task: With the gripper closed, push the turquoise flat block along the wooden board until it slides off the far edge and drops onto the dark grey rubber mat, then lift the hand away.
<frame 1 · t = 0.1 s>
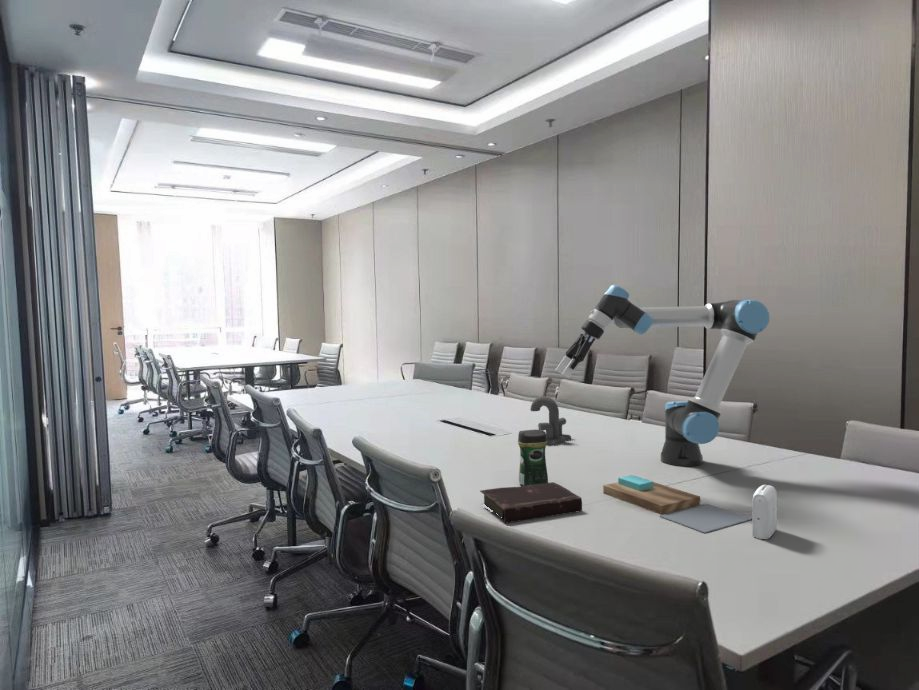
hand: (561, 374, 213), 36 cm above the table, tool tilted 35°, fingers open, 13 cm apart
coffee jar: (533, 484, 203), on the table
diary: (529, 510, 179), on the table
turquoise flat block: (635, 485, 190), point 2 cm above the table, touching wooden board
photo printer: (764, 534, 155), on the table
wooden board: (650, 498, 185), on the table
faucet: (546, 440, 271), on the table
mat: (706, 518, 167), on the table
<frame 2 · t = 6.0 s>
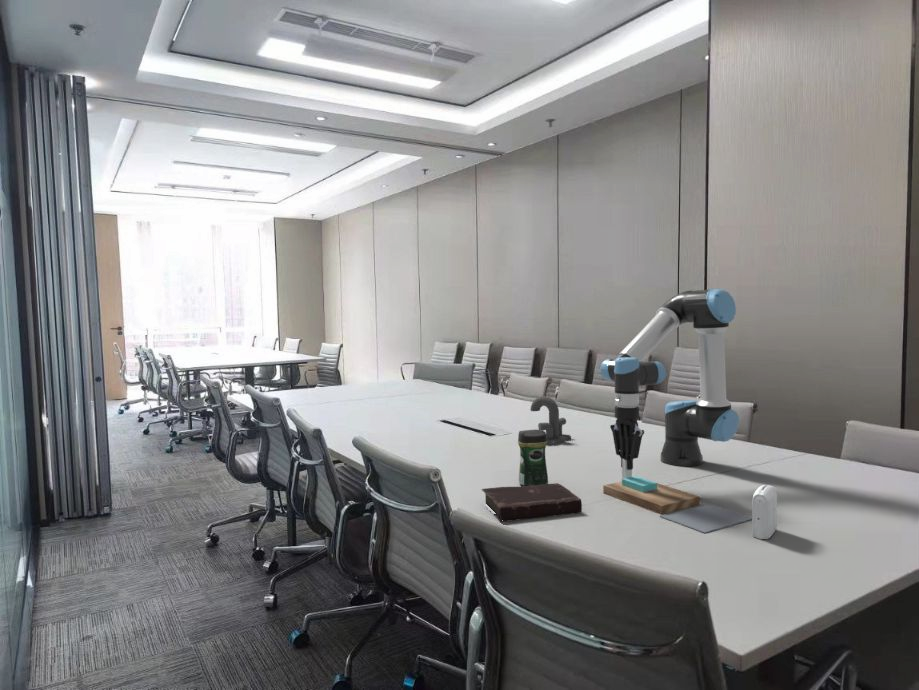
hand: (627, 478, 193), 4 cm above the table, tool pointing down, fingers closed
turquoise flat block: (639, 487, 189), point 3 cm above the table, touching wooden board
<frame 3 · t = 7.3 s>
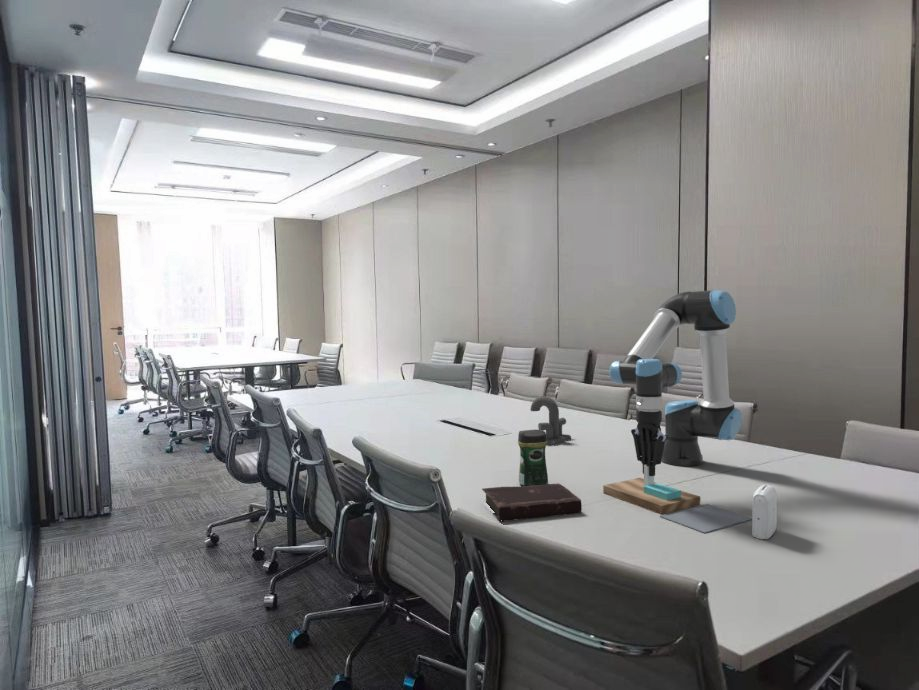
hand: (648, 485, 185), 4 cm above the table, tool pointing down, fingers closed
turquoise flat block: (662, 494, 181), point 3 cm above the table, touching gripper
everything else where it was.
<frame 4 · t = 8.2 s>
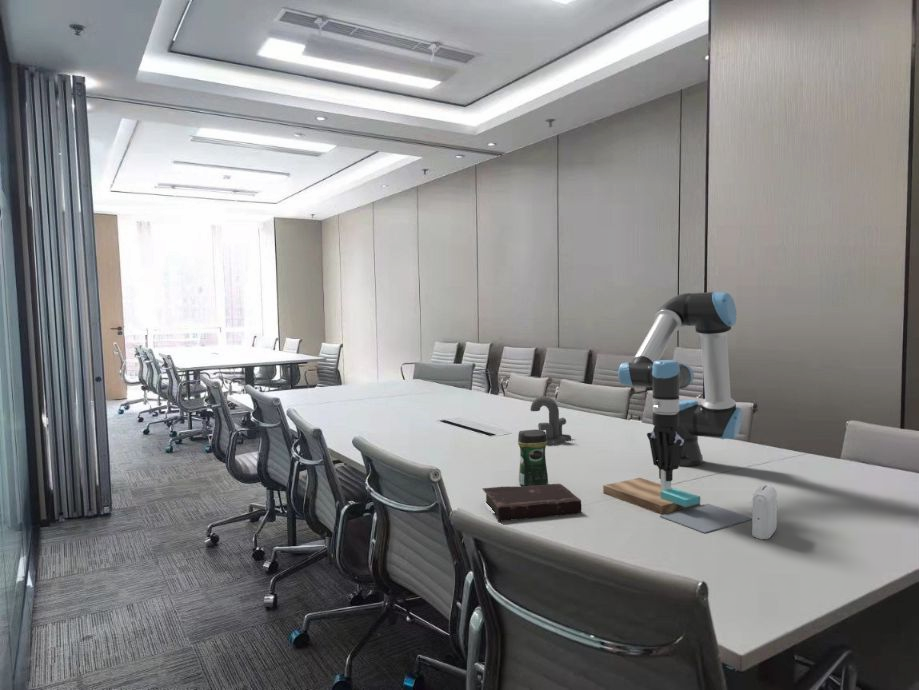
hand: (665, 490, 179), 4 cm above the table, tool pointing down, fingers closed
turquoise flat block: (679, 500, 175), point 3 cm above the table, touching gripper
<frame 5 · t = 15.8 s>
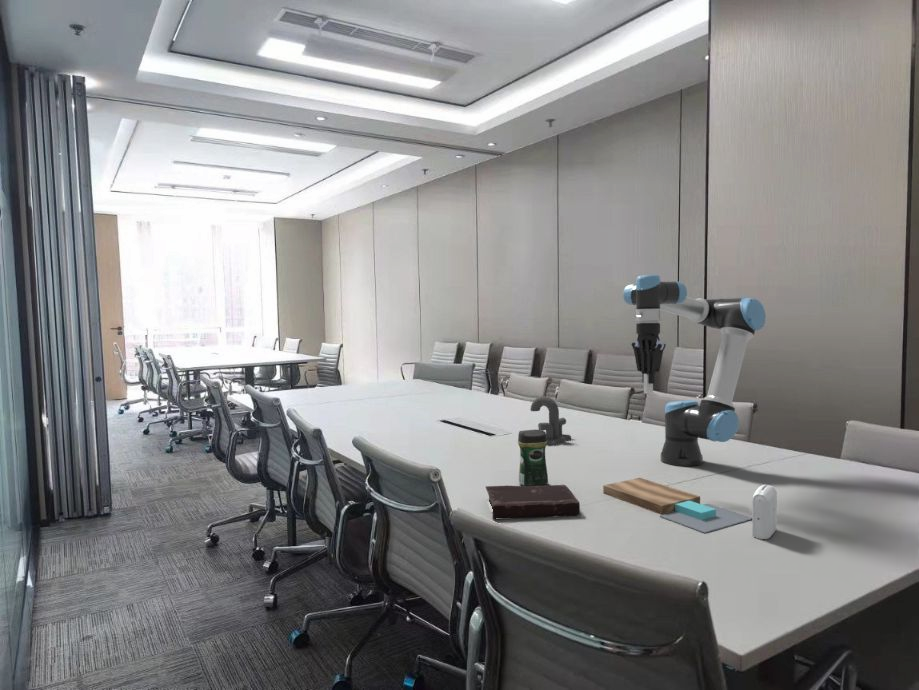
hand: (648, 393, 200), 30 cm above the table, tool pointing down, fingers closed
turquoise flat block: (695, 513, 170), resting on mat
at the end: turquoise flat block resting on mat; turquoise flat block inside the target area on the mat (3.5 cm from its centre), point 0.3 cm above the mat's base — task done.
